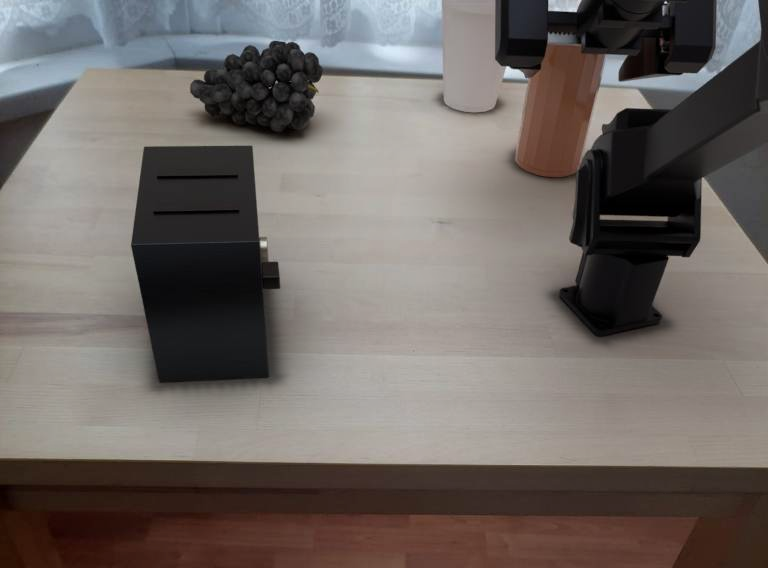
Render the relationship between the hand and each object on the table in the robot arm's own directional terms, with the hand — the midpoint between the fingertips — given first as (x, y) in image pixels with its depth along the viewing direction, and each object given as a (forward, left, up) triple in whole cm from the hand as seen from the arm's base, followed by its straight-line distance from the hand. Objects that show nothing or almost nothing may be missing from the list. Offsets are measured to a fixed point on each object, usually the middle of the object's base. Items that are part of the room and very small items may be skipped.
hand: (573, 74), depth 76 cm
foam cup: (+20, 0, -10) cm, 22 cm away
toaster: (-15, +40, -10) cm, 44 cm away
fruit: (+21, +26, -10) cm, 35 cm away
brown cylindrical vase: (+3, -1, -10) cm, 10 cm away
